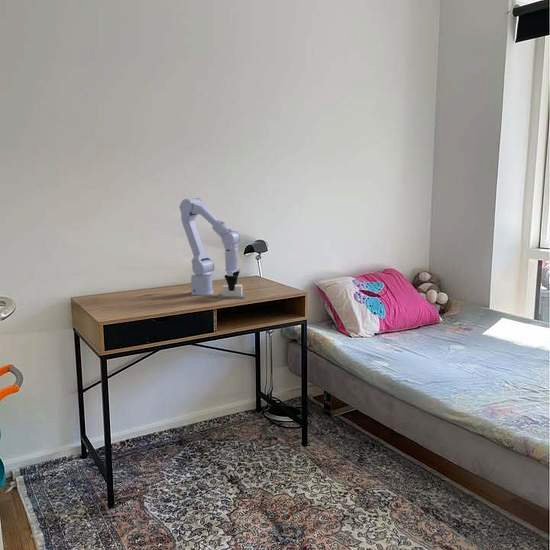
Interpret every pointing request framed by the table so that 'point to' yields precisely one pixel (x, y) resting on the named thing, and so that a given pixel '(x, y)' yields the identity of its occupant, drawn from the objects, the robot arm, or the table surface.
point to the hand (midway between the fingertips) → (232, 289)
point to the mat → (230, 296)
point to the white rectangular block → (236, 291)
